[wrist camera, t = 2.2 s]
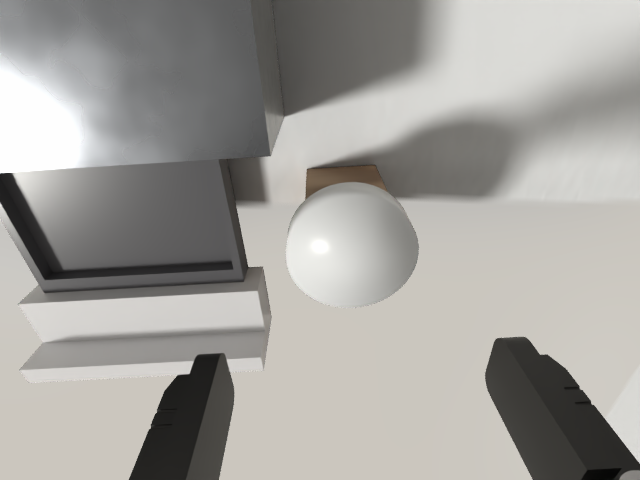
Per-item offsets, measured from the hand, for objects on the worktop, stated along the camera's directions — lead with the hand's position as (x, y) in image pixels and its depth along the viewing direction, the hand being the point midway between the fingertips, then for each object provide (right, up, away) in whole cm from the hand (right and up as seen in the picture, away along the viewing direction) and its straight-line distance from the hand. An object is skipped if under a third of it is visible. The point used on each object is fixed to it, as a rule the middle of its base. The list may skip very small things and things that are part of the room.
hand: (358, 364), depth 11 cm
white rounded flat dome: (0, +4, +7) cm, 8 cm away
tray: (-13, +5, +11) cm, 18 cm away
